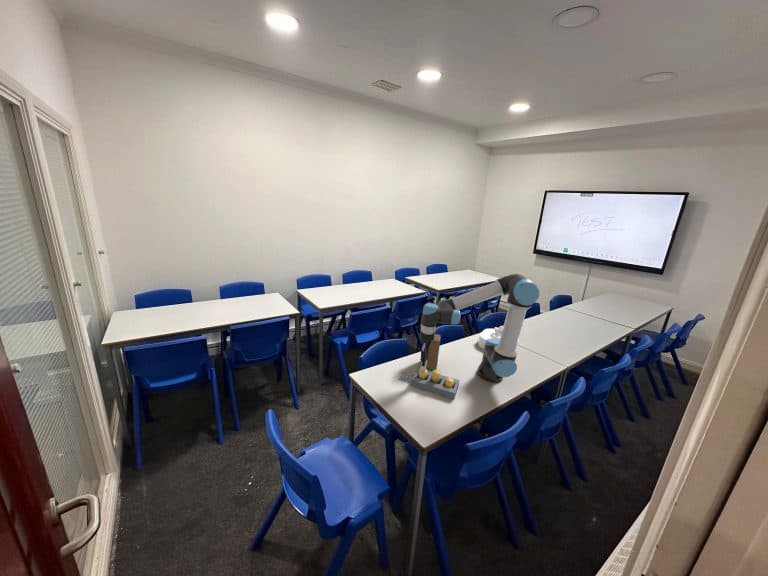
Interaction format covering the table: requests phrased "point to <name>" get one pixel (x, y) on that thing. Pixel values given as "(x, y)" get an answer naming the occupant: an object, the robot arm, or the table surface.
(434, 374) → the button
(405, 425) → the table surface
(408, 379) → the pattern tile
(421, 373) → the button
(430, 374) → the button board
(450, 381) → the button
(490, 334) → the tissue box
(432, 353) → the wooden block
